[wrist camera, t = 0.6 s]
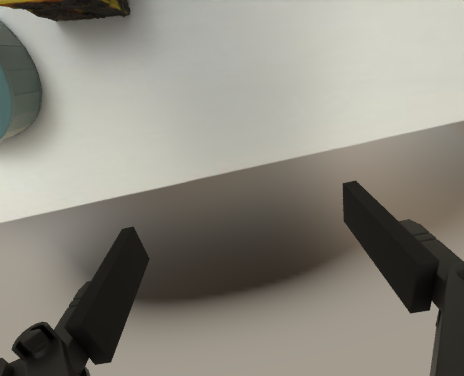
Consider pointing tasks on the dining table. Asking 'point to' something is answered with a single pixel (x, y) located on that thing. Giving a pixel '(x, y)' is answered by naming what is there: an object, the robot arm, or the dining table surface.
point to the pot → (20, 81)
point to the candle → (71, 8)
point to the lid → (5, 102)
